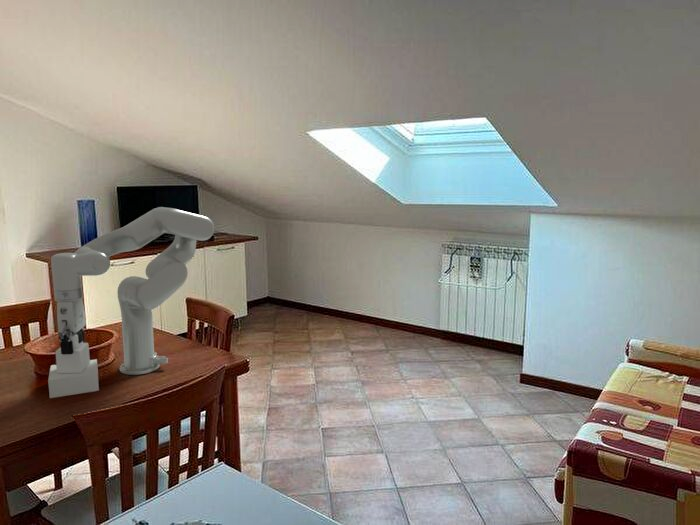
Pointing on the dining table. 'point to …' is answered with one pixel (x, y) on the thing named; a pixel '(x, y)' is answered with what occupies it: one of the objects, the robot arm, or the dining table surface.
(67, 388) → the grey block
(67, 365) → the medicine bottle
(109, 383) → the dining table surface
